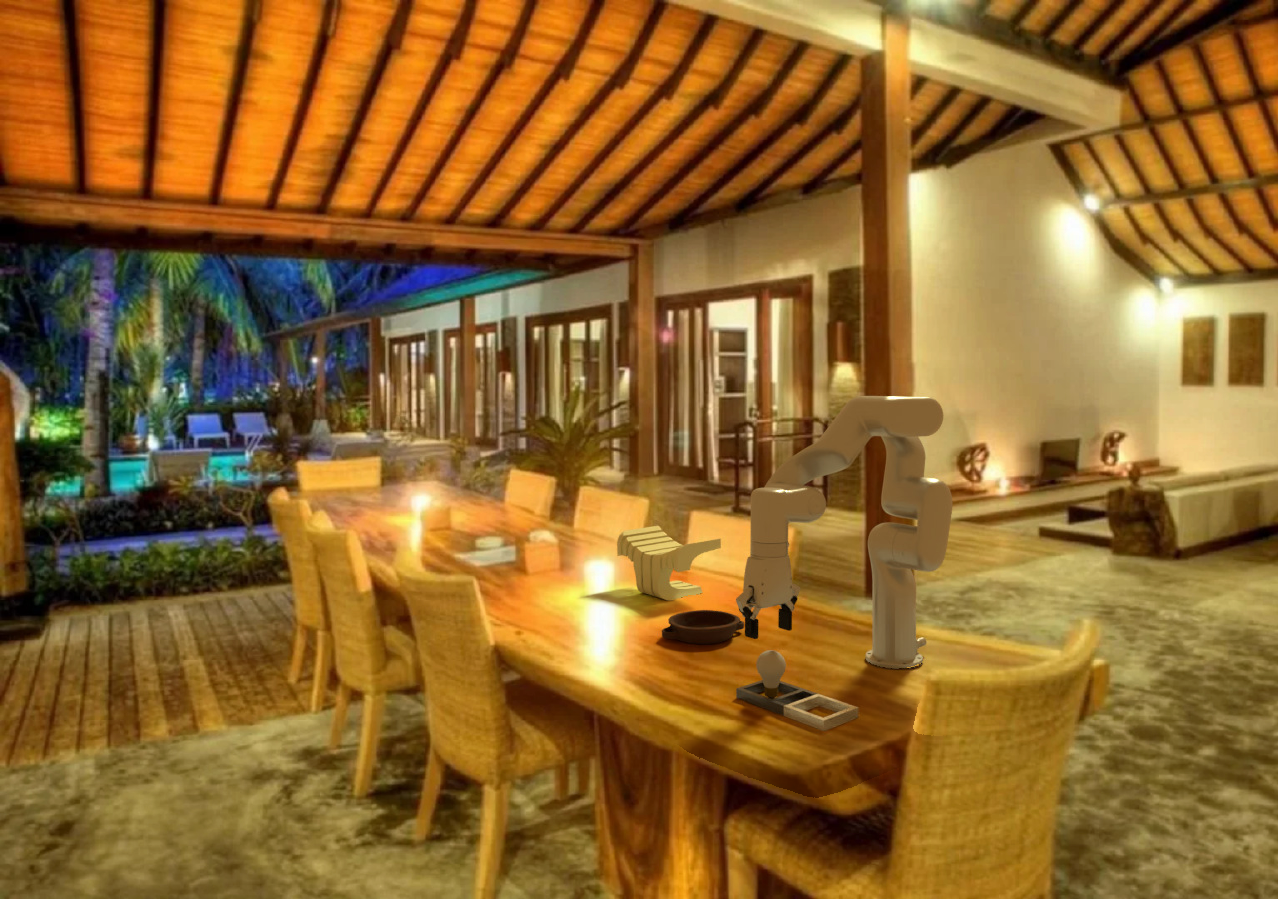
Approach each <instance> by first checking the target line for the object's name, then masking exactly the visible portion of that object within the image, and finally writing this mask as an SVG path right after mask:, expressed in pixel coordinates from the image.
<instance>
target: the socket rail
mask: <svg viewBox="0 0 1278 899" xmlns="http://www.w3.org/2000/svg"><path fill="white" fill-rule="evenodd" d="M735 689H736V690H735V691H736V693H735V694H736V699H738V700H741V701H744V702H746V703H748V704H751V705H753V706H757V707H759V708H762V709H765V710H766V711H770V712H773V713H775V714H777V715H780V716H783V717H785V718H789V719H791V720H793V721H796V722H799V723H801V724H804V725H807V726H810V727H812V728H815V729H817V730H819V731H823V732H826V731H829V730H831V729H833V728H836V727H837V726H840V725H843V724H846V723H848V722H851V721H853V720H856V719H858V718H859V706H855V705H853V704H850V703H847V702H844V701H841V700H838V699H836V698H832V697H829V696H827V695H826V696H825V695H823V694H820V693H817V692H814V691H811V690H809V689H805V688H803V687H799V686H796V685H793V684H791V683H788V682H785V681H781V680H780V682H779V685H778V693H781V694H783V695H779V696H776V697H775V698H774V699H770V698H768V697H767V696H765V695H761V694H760V693H763V692H765V688H764V684H763V680H762V679H761V680H758V681H756V682H752V683H749V684H746V685H743V686H740V687H737V688H735ZM816 707H821V708H823V709H826V710H829V709H830V710H829V711H831V710H832V712H834V713H832V714H830V715H827V716H824V717H823V716H820V715H817V714H814V713H812V712H808V710H811V709H814V708H816Z"/></svg>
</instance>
